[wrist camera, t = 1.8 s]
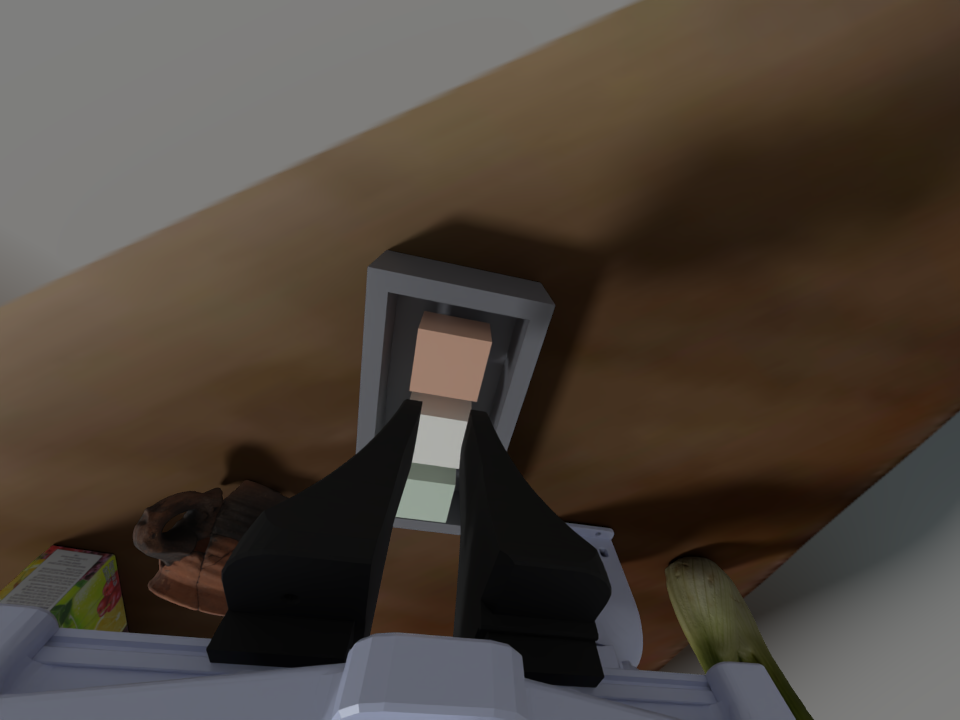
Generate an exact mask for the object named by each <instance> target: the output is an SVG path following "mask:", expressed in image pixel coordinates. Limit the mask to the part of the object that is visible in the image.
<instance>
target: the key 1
mask: <svg viewBox="0 0 960 720" xmlns="http://www.w3.org/2000/svg"><path fill="white" fill-rule="evenodd" d="M455 483H456V469H455V468H448V467H441V466H434V465H427V464H420V463H412V465H411V468H410V472H409V475H408V478H407V481H406V485H405V488H404V491H403V494H402V498H401V501H400V504H399V507H398V510H397V514H396V517H401V518H409V519H418V520H426V521H434V522H443V523H446V520H447V516H448V512H449V508H450V504H451V500H452V497H453V493H454V489H455Z"/></svg>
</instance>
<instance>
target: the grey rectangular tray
mask: <svg viewBox="0 0 960 720" xmlns="http://www.w3.org/2000/svg"><path fill="white" fill-rule="evenodd" d="M554 308H555V304H554V302H553V301H552V299H551V298H550V296H549V295H548V293H547V292H546V290H545V288H544V287H543V285H542V284H541V283H540V282H535V281H530V280H526V279H521V278H516V277H512V276H507V275H502V274H497V273H493V272H488V271H483V270H479V269H474V268H469V267H464V266H460V265H455V264H450V263H446V262H441V261H436V260H431V259H427V258H422V257H417V256H413V255H408V254H403V253H398V252H394V251H389V250H386V251H385V252H384V253H383V254H382V255H380V256H379V257H378V258H377V259H376V260H375V261H374V262H373V263H371V264H370V265H369V266H368V271H367V286H366V302H365V318H364V334H363V350H362V366H361V382H360V398H359V414H358V430H357V445H356V454H357V453H358V452H359V451H360V450H361V449H362V448H364V447H365V446H366V445H367V444H368V443H369V442H370V441H371V440H372V439H373V438H374V437H375V436H376V435H377V434H378V433H379V432H380V431H381V430H382V428H383V427H384V426H385V425H386V424H387V423H388V422H389V420H390V419H391V418H392V417H393V416H394V414H395V413H396V412H397V410H398V409H399V407H400V406H401V404H402V403H403V401H404V400H406V399H410V397H411V393H412V391H409V390H410V383H411V376H412V369H413V362H414V355H415V348H416V341H417V334H418V328H419V325H420V322H421V319H422V316H423V313H424V311H428V312H433V313H438V314H443V315H448V316H454V317H459V318H464V319H469V320H474V321H479V322H485V323H490V329H491V337H492V345H491V348H490V352H489V356H488V360H487V364H486V368H485V372H484V376H483V380H482V384H481V387H480V391H479V395H478V399H477V402H474V401H471V407H472V410H478V411H485V412H487V414H488V415H489V418H490V420H491V422H492V425H493V427H494V429H495V431H496V433H497V435H498V437H499V439H500V441H501V443H502V444H503V446H504V448H505V450H506V451H507V449H508V446H509V443H510V440H511V437H512V434H513V431H514V428H515V425H516V422H517V419H518V416H519V413H520V410H521V407H522V404H523V401H524V398H525V395H526V392H527V389H528V386H529V383H530V380H531V377H532V374H533V371H534V368H535V365H536V362H537V359H538V356H539V353H540V350H541V347H542V344H543V341H544V338H545V335H546V332H547V329H548V326H549V323H550V320H551V317H552V314H553V311H554ZM393 527H396V528H405V529H413V530H422V531H430V532H439V533H448V534H456V535H460V530H461V526H460V496H459V469H456V483H455V489H454V493H453V497H452V500H451V504H450V508H449V512H448V516H447V520H446V523H443V522H434V521H426V520H418V519H409V518H401V517H395V520H394V524H393Z"/></svg>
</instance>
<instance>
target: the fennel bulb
mask: <svg viewBox="0 0 960 720" xmlns="http://www.w3.org/2000/svg"><path fill="white" fill-rule="evenodd" d="M665 574H666V586H667V590H668V593H669V597H670V600H671V603H672V605H673V608H674V611H675V614H676V616H677V618H678V621H679V623H680V625H681V627H682V630H683V631H684V634H685V636H686V638H687V639H688V642H689V643H690V645H691V647H692V649H693V650H694V652H695V655H696V656H697V658H698V660H699V662H700V664H701V666H702V668H703V670H704V672H705V674H706V672H707V671H708V670H709V669H710V668H711V667H712V666H713V665H715V664H717V663H720V662H727V661H731V662H744V663H757V664H761V665H763V666H764V667H765V669H766V671H767V672H768V674H769V676H770V677H771V679H772V681H773V682H774V684H775V686H776V687H777V689H778V691H779V692H780V694H781V696H782V697H783V699H784V701H785V702H786V704H787V706H788V707H789V709H790V711H791V712H792V714H793V716H794V717H795V719H796V720H814V719H813V718H812V717H811V715H810V714H809V713H808V711H807V710H806V708H805V706H804V705H803V703H802V702H801V700H800V699H799V698H798V696H797V695H796V693H795V692H794V690H793V689H792V687H791V686H790V684H789V683H788V681H787V679H786V678H785V676H784V674H783V673H782V671H781V670H780V669H779V667H778V665H777V664H776V662H775V661H774V659H773V658H772V656H771V654H770V652H769V650H768V648H767V646H766V644H765V642H764V640H763V638H762V636H761V634H760V632H759V630H758V627H757V625H756V622H755V620H754V618H753V616H752V614H751V612H750V610H749V609H748V607H747V605H746V603H745V602H744V600H743V598H742V596H741V594H740V593H739V591H738V590H737V588H736V586H735V585H734V583H733V581H732V580H731V579H730V578H729V576H728V575H727V574H726V573H725V572H724V571H723V570H722V569H721V568H720V567H719V566H718V565H717V564H716V563H714V562H713V561H711V560H709V559H706V558H703V557H684V558H680V559H678V560H676V561H674V562H673V563H672V564H670V565H669V566H668V567H667V568H666V569H665Z"/></svg>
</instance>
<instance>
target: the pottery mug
mask: <svg viewBox="0 0 960 720" xmlns="http://www.w3.org/2000/svg"><path fill="white" fill-rule="evenodd" d="M222 494H223V492H222V490H221V489H220V488H214V489H212V490H210V491H207V492H205V493H199V492H196V491H187V492H182V493H177V494H174V495H172V496H169V497H167V498H165V499H162V500H161V501H159V502H157V503H156V504H154V505H153V506H151V507H148V508H146V509H145V511H144V513H143V515H142V517H141V518H140V520H139V522H138V523H137V525H136V526H135V528H134V531H133V542H134V545H135V547H136V548H137V549H139V550H140V551H142V552H143V553H144V554H146V555H147V556H150V557H153V558H157V559H159V571H158V572H157V574H156V575H155V576H154V578H153V579H151V580H150V581H149V583H148V588H149V590H150V591H151V592H153V593H154V594H155V595H157V596H158V597H160V598H163V599H165V600H167V601H170V602H172V603H175V604H177V605H180V606H183V607H186V608H188V609H192V610H199V611H201V612H204V613H208V614H212V615H219V616H225V614H226V612H227V611H228V606H227V601H226V597H225V593H224V589H223V584H222V580H221V571H222V569H223V567H224V565H225V564H226V562H227V560H228V559H229V557H230V555H231V554H232V552H233V550H234V549H235V547H236V546H237V544H238V542H239V541H240V539H241V538H242V537H243V535H244V534H245V533H246V531H247V530H248V529H249V528H250V526H251V525H252V524H253V523H254V521H255V520H256V519H257V518H258V517H259V515H260V514H261V513H262V512H263V511H264V510H267V509H269V508H271V507H273V506H275V505H277V504H279V503H281V502H283V501H285V500H287V499H289V498H287V497H285V496H283V495H281V494H280V493H279V492H278V491H275V490H273V489H271V488H269V487H266V486H264V485H261V484H258V483H256V482H252V481H249V480H245V481H243V482H242V483H241V484H240V486H239V487H238V488H237V489H236V490H235V491H233V492H232V493H231V494H230V495H229V496H228V497H227V498H225V499H224V500H223V497H222ZM185 511H187V512H186V513H185V514H184V517H183V518H182V519H181V520H179V521H178V522H177V523H176V524H175V525H174V526H173V528H172V529H170V530H169V531H167V532H165V533H162V530H163V528H164V526H165V524H166V523H167V522H168V521H169V520H170V519H171V518H173V517H174V516H176V515H178V514H180V513H183V512H185Z"/></svg>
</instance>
